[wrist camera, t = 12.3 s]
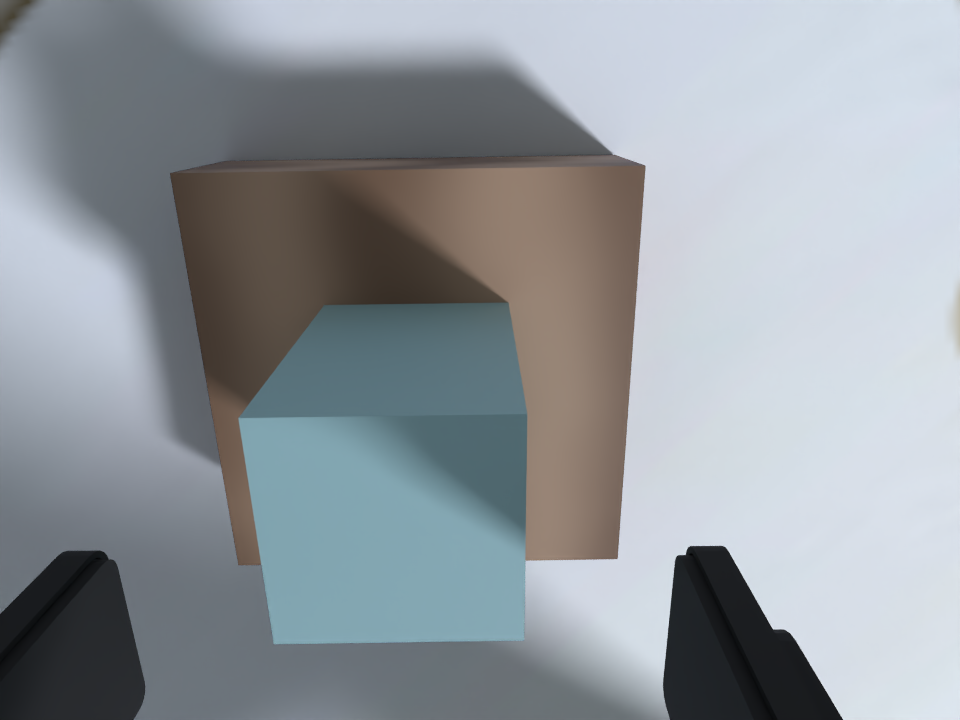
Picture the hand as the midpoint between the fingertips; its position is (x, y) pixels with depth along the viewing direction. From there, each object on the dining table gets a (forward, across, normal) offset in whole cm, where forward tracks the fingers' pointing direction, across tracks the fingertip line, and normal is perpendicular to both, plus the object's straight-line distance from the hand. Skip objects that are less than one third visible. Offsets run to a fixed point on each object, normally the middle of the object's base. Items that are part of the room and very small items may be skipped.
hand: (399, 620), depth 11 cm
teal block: (+9, 0, -1) cm, 9 cm away
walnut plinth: (+13, 0, -1) cm, 13 cm away
